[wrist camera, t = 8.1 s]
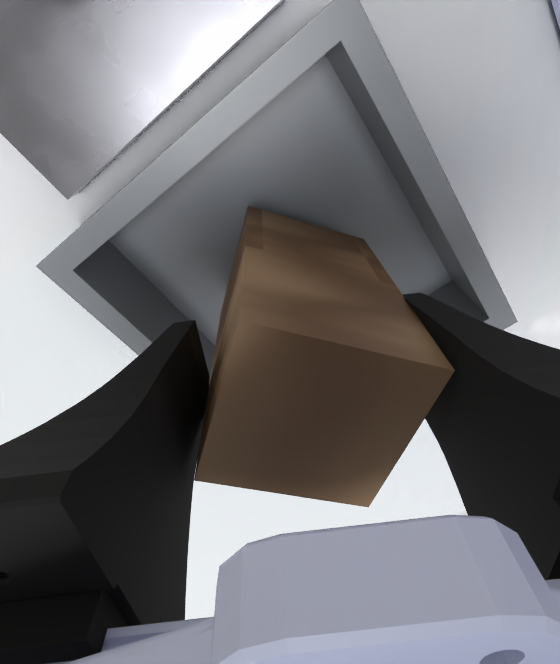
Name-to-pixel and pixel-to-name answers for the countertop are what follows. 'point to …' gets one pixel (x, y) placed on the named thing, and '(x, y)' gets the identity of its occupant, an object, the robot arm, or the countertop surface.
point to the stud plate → (105, 73)
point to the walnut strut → (314, 367)
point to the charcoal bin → (281, 193)
